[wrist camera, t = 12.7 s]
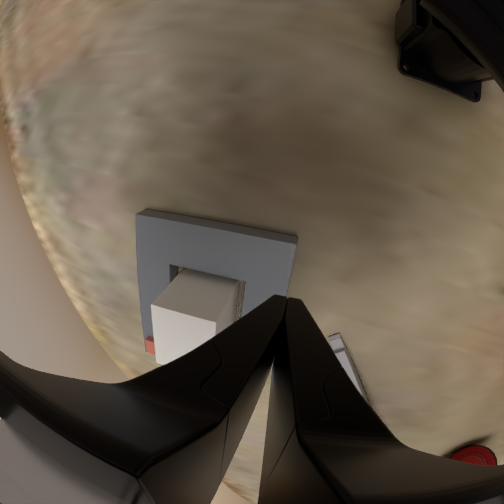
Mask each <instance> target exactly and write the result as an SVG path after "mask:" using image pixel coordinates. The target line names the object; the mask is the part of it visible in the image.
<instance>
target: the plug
mask: <svg viewBox="0 0 504 504" xmlns="http://www.w3.org/2000/svg"><path fill="white" fill-rule="evenodd" d="M239 281H240V280H237V279H232V278H228V277H223V276H219V275H214V274H210V273H206V272H201V271H197V270H193V269H188V268H184V269H183V270H182V271H181V272H180V273H179V274H178V275H177V276H176V277H175V278H174V280H173V281H172V282H171V283H170V284H169V285H168V286H167V287H166V288H165V289H164V290H163V291H162V293H161V294H160V295H159V296H158V297H157V298H156V299H155V300H154V301H153V302H152V303H151V314H152V325H153V336H154V345H155V354H156V362H157V363H159V364H162V365H165V364H167V363H169V362H171V361H173V360H175V359H177V358H179V357H181V356H183V355H185V354H187V353H188V352H190V351H192V350H193V349H195V348H197V347H198V346H200V345H201V344H203V343H204V342H206V341H207V340H209V339H211V338H212V337H214V336H215V335H217V334H218V333H220V332H221V331H222V330H224V329H225V328H227V327H228V326H230V325H231V324H233V323H234V322H235V315H236V306H237V298H238V290H239Z"/></svg>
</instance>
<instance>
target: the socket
mask: <svg viewBox="0 0 504 504" xmlns="http://www.w3.org/2000/svg"><path fill="white" fill-rule="evenodd" d="M297 240H298V237H295V236H290V235H285V234H280V233H275V232H270V231H265V230H260V229H254V228H249V227H244V226H239V225H233V224H228V223H222V222H217V221H212V220H206V219H200V218H195V217H189V216H183V215H178V214H172V213H166V212H160V211H154V210H149V209H145V210H143V211H141V212H139V213H137V214H136V249H137V269H138V284H139V296H140V307H141V317H142V326H143V334H144V342H145V349H146V352H149V353H152V354H155V345H154V336H153V325H152V314H151V303H152V302H153V301H154V300H155V299H156V298H157V297H158V296H159V295H160V294H161V293H162V291H163V290H164V289H165V288H166V287H167V286H168V285H169V284H170V283H171V282H172V281H173V280H174V278H175V277H176V276H177V269H178V266H180V267H184V268H188V269H193V270H197V271H201V272H206V273H210V274H214V275H219V276H223V277H228V278H232V279H237V280H241V281H246V284H245V292H244V299H243V306H242V314H241V317H243V316H244V315H246V314H247V313H249V312H250V311H251V310H253V309H254V308H256V307H257V306H258V305H260V304H261V303H263V302H264V301H265V300H267V299H268V298H270V297H271V296H272V295H274V294H277V295H282V296H286V294H287V289H288V284H289V280H290V275H291V270H292V265H293V261H294V256H295V251H296V246H297ZM155 355H156V354H155ZM265 383H266V382H265ZM264 386H265V385H264Z"/></svg>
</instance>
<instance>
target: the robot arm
mask: <svg viewBox="0 0 504 504" xmlns="http://www.w3.org/2000/svg"><path fill="white" fill-rule="evenodd" d="M395 42H396V44H397V45H398V46H400V48H399V62H398V69H399V71H400V72H401V73H402V74H404V75H406V76H409V77H412V78H415V79H418V80H421V81H424V82H426V83H429V84H432V85H434V86H437V87H439V88H442V89H444V90H447V91H449V92H452V93H454V94H456V95H459V96H461V97H463V98H465V99H467V100H470V101H472V102H478V101H480V98H481V82H484V81H488V80H492V79H494V80H495V81H496V82H497V84H498V85H499V86H500V88H501V89H502V90H503V92H504V0H402V1H401V8H400V9H399V11H398V12H397V14H396V36H395ZM403 65H406V66H407V67H408V69H409V70H408V71H406V70H405V69H404V68H403ZM473 93H474V94H475V98H474V97H473ZM273 360H274V361H273ZM272 363H273V367H272ZM271 367H272V376H271V387H270V398H269V408H268V419H267V428H266V438H265V447H264V456H263V465H262V473H261V481H260V489H259V497H258V504H504V464H503V465H497V466H486V465H477V464H471V463H466V462H461V461H457V460H452V459H448V458H444V457H440V456H436V455H432V454H429V453H425V452H422V451H418V450H415V449H412V448H410V447H408V446H406V445H404V444H403V443H401V442H400V441H399V440H398V439H397V438H396V437H395V436H394V435H393V434H392V433H391V431H390V430H389V429H388V428H387V426H386V425H385V424H384V423H383V421H382V420H381V419H380V418H379V416H378V415H377V414H376V413H375V411H374V410H373V409H372V408H371V406H370V405H369V404H368V403H367V401H366V400H365V399H364V397H363V396H362V395H361V393H360V392H359V391H358V389H357V388H356V386H355V385H354V383H353V382H352V380H351V379H350V377H349V376H348V374H347V372H346V371H345V369H344V368H343V367H342V365H341V363H340V361H339V360H338V358H337V356H336V355H335V353H334V351H333V350H332V348H331V347H330V345H329V343H328V342H327V340H326V338H325V337H324V335H323V334H322V332H321V330H320V329H319V327H318V325H317V324H316V322H315V321H314V319H313V317H312V316H311V314H310V313H309V311H308V309H307V308H306V306H305V305H304V303H303V301H302V300H301V299H296V298H292V297H289V298H288V299H287V297H286V296H282V295H277V294H274V295H272V296H271V297H270V298H268V299H267V300H265V301H264V302H263V303H261V304H260V305H258V306H257V307H256V308H254V309H253V310H251V311H250V312H249V313H247V314H246V315H244V316H243V317H241V318H240V319H238V320H237V321H236V322H234V323H233V324H231V325H230V326H228V327H227V328H225V329H224V330H222V331H221V332H220V333H218V334H217V335H215V336H214V337H212V338H211V339H209V340H207V341H206V342H204V343H203V344H201V345H200V346H198V347H197V348H195V349H193V350H192V351H190V352H188V353H187V354H185V355H183V356H181V357H179V358H177V359H175V360H173V361H171V362H169V363H167V364H165V365H162V366H160V367H158V368H156V369H154V370H152V371H149V372H147V373H145V374H143V375H141V376H138V377H136V378H134V379H131V380H129V381H125V382H122V383H115V384H114V383H113V384H108V383H100V382H93V381H86V380H80V379H75V378H69V377H64V376H59V375H54V374H49V373H45V372H41V371H37V370H34V369H31V368H28V367H25V366H22V365H20V364H18V363H16V362H15V361H13V360H12V359H10V358H9V357H8V356H6V355H5V354H4V353H3V352H1V351H0V417H1V418H2V419H1V420H0V504H210V503H211V501H212V499H213V497H214V496H215V494H216V491H217V489H218V487H219V485H220V483H221V481H222V479H223V477H224V475H225V473H226V471H227V469H228V467H229V465H230V462H231V460H232V458H233V456H234V454H235V452H236V449H237V447H238V445H239V443H240V441H241V438H242V436H243V434H244V432H245V429H246V427H247V425H248V423H249V420H250V418H251V416H252V413H253V411H254V409H255V406H256V404H257V401H258V399H259V397H260V394H261V392H262V389H263V387H264V385H265V382H266V380H267V377H268V375H269V372H270V369H271Z"/></svg>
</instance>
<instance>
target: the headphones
mask: <svg viewBox="0 0 504 504" xmlns="http://www.w3.org/2000/svg"><path fill="white" fill-rule="evenodd" d="M448 459H452V460H457V461H461V462H466V463H471V464H477V465H486V466H497V458H496V456H495V454H494V453H493V452H492V451H491V450H490V449H489V448H487V447H485V446H481V445H472V446H468V447H465V448H462V449H460V450H459V451H457V452H455V453H454V454H453V455H451V456H450V457H449V458H448Z"/></svg>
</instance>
